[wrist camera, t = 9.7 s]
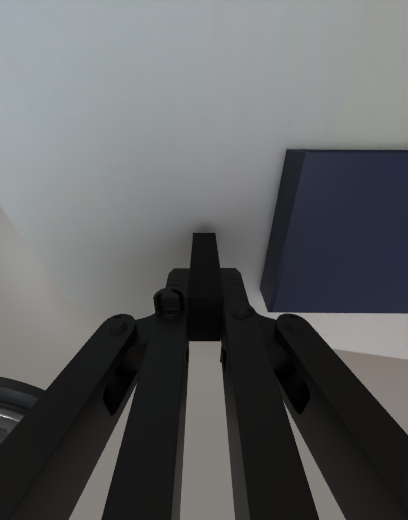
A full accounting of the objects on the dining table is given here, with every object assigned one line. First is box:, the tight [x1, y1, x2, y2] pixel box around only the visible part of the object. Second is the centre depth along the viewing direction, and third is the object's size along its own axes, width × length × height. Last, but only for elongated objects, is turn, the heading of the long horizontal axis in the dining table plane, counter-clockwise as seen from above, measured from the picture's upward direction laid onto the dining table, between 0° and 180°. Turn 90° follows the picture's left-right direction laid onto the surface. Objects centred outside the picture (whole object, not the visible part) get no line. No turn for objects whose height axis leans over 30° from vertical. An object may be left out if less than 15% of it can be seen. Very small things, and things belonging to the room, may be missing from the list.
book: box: [260, 149, 408, 313], centre depth 15 cm, size 16×12×3 cm
